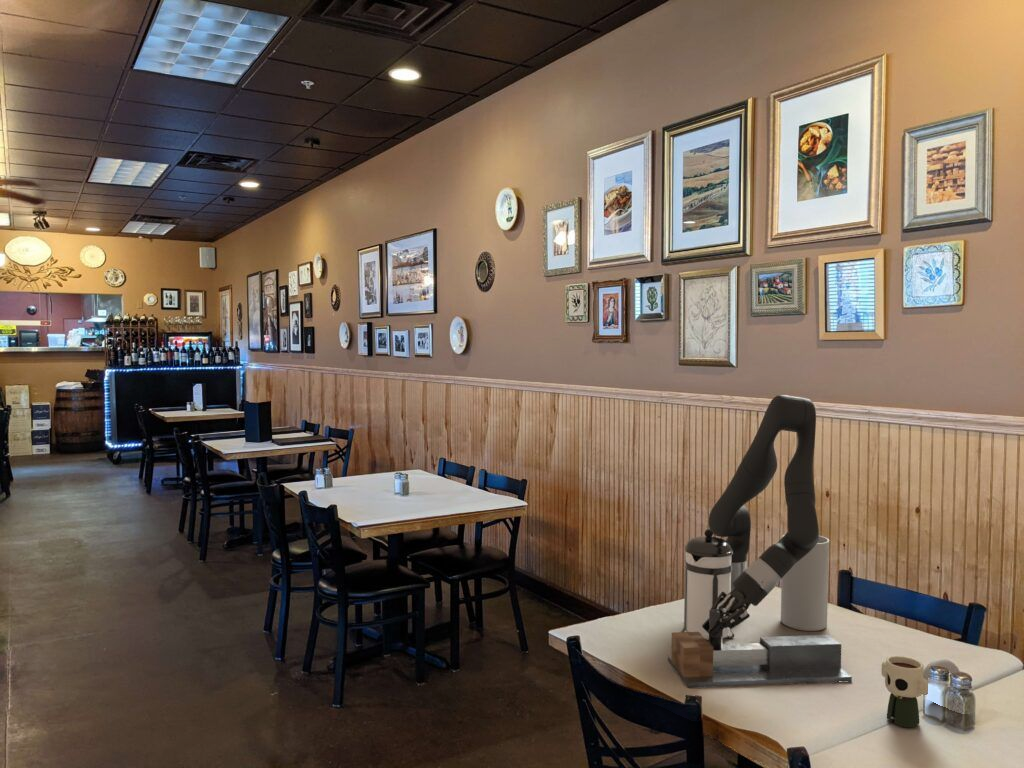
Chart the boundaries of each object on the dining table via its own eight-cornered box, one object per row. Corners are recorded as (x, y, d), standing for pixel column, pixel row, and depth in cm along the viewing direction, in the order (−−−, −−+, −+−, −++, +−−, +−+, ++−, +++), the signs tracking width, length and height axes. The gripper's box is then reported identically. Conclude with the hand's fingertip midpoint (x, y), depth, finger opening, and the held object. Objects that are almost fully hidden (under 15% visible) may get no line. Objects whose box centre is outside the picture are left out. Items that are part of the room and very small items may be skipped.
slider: (690, 660, 187) (691, 609, 187) (784, 657, 190) (785, 606, 189) (695, 666, 184) (696, 614, 183) (791, 663, 186) (792, 611, 186)
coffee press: (746, 649, 201) (748, 536, 200) (685, 648, 201) (687, 535, 200) (728, 625, 218) (730, 521, 217) (672, 624, 219) (674, 521, 217)
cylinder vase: (771, 620, 223) (773, 535, 222) (803, 614, 228) (805, 531, 227) (804, 634, 211) (806, 545, 210) (836, 628, 217) (839, 541, 216)
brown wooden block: (671, 660, 190) (671, 632, 190) (698, 659, 191) (698, 631, 191) (684, 677, 180) (684, 648, 180) (712, 676, 181) (713, 647, 181)
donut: (928, 709, 168) (930, 664, 167) (916, 702, 171) (917, 658, 170) (964, 703, 171) (965, 659, 170) (951, 696, 174) (952, 653, 173)
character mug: (869, 714, 165) (870, 655, 164) (892, 708, 168) (894, 650, 167) (914, 737, 155) (915, 675, 154) (938, 730, 158) (939, 669, 157)
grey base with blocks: (667, 660, 193) (667, 632, 193) (818, 655, 197) (818, 627, 197) (688, 687, 177) (688, 657, 177) (851, 681, 181) (852, 651, 181)
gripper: (735, 563, 193) (687, 612, 192) (758, 579, 179) (707, 632, 178) (755, 583, 194) (707, 632, 193) (779, 601, 180) (728, 654, 179)
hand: (707, 632), depth 186 cm, fingers closed on slider, 3 cm apart
